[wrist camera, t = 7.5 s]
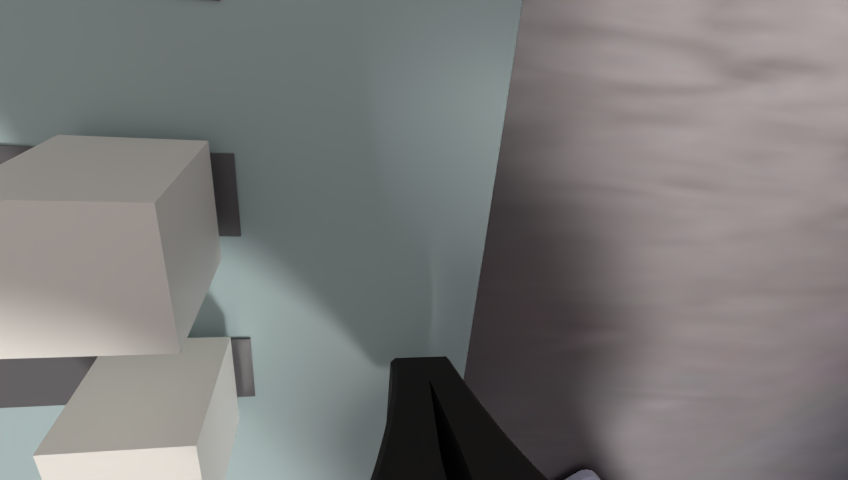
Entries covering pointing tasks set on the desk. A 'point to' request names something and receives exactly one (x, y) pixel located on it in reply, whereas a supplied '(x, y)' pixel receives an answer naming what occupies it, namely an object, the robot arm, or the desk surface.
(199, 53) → the switch board
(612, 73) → the desk surface
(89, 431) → the tab
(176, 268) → the tab
